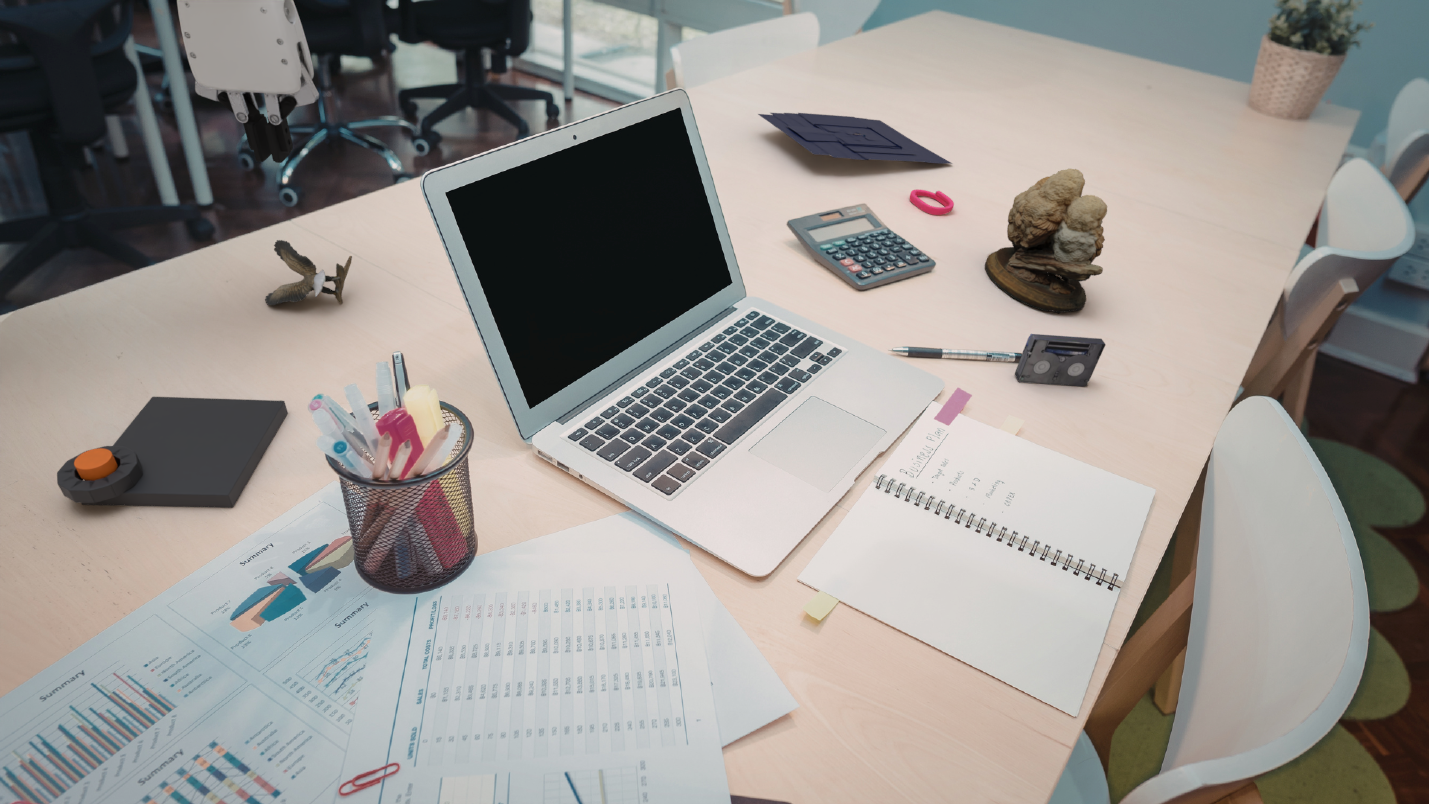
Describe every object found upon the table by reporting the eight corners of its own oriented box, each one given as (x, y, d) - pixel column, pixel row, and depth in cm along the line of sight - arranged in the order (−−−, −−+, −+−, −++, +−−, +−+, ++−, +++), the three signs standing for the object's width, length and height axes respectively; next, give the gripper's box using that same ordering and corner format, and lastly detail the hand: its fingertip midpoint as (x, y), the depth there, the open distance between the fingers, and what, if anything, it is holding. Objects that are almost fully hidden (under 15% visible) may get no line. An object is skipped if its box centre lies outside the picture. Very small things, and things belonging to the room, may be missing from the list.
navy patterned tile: (749, 125, 154) (753, 105, 152) (875, 133, 167) (880, 115, 165) (814, 174, 137) (820, 153, 135) (948, 178, 150) (955, 159, 148)
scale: (57, 516, 66) (41, 489, 65) (143, 408, 78) (133, 383, 76) (227, 519, 68) (217, 493, 66) (288, 413, 79) (281, 388, 77)
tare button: (73, 481, 66) (66, 468, 65) (91, 459, 68) (84, 447, 67) (107, 481, 66) (101, 469, 66) (123, 460, 68) (118, 448, 68)
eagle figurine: (358, 272, 99) (280, 254, 97) (348, 243, 92) (264, 224, 91) (340, 328, 96) (260, 310, 95) (328, 302, 90) (241, 283, 88)
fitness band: (959, 214, 132) (962, 205, 131) (929, 217, 130) (932, 208, 129) (931, 194, 138) (933, 185, 137) (902, 196, 136) (904, 188, 135)
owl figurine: (1111, 315, 109) (1165, 195, 99) (1040, 324, 106) (1087, 200, 95) (1030, 253, 122) (1070, 142, 112) (964, 259, 119) (999, 145, 108)
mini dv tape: (1081, 379, 96) (1100, 336, 92) (1086, 386, 95) (1105, 344, 91) (1014, 374, 96) (1030, 331, 92) (1018, 382, 94) (1034, 338, 91)
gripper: (326, -39, 78) (360, 149, 89) (155, -53, 76) (212, 140, 87) (298, -24, 72) (339, 176, 83) (113, -39, 70) (180, 166, 81)
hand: (274, 156), depth 85 cm, fingers closed
